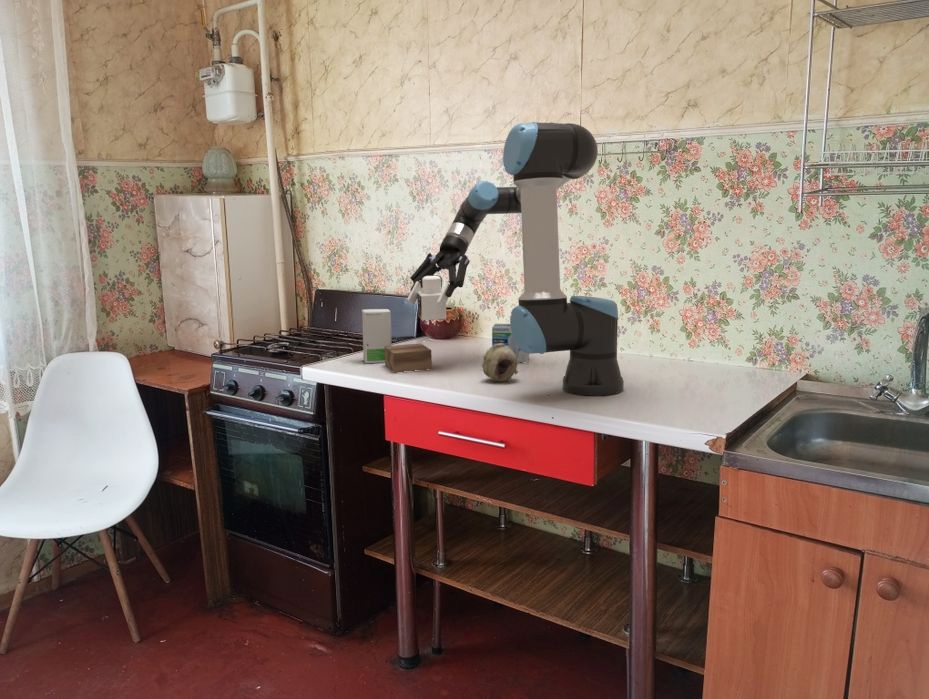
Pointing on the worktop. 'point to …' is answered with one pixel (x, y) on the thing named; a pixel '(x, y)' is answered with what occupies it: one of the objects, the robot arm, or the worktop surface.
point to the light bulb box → (507, 340)
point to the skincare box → (376, 334)
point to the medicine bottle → (430, 298)
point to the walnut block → (408, 357)
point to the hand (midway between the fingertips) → (425, 303)
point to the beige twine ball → (499, 363)
